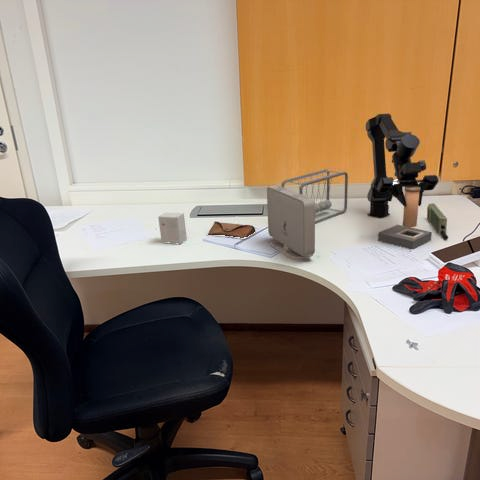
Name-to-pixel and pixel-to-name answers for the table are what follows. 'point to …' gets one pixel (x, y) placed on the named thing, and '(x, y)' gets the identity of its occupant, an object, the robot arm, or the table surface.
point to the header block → (404, 236)
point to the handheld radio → (437, 220)
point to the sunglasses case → (231, 229)
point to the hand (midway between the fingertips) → (412, 205)
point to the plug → (411, 206)
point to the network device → (291, 221)
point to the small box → (172, 227)
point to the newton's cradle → (326, 203)
